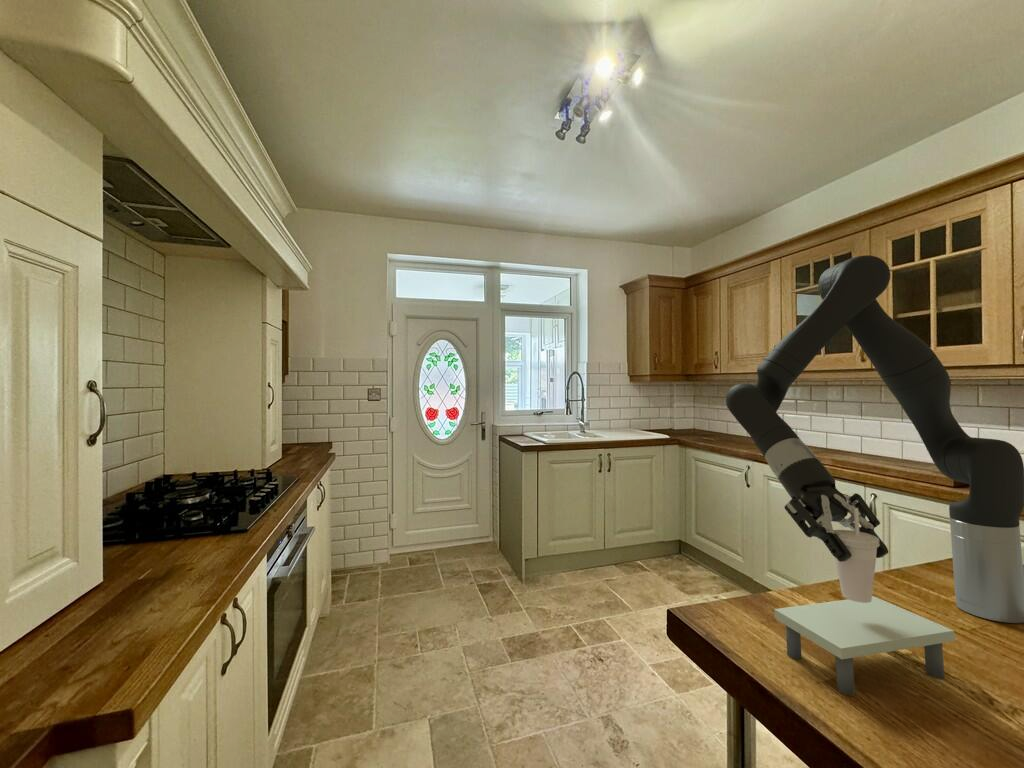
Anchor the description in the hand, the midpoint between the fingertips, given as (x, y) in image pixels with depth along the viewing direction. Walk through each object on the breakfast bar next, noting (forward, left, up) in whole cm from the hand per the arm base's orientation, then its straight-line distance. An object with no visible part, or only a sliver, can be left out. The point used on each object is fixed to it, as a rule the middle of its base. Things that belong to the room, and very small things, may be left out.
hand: (864, 557), depth 68 cm
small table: (0, -2, -17) cm, 17 cm away
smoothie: (0, -2, -7) cm, 7 cm away
